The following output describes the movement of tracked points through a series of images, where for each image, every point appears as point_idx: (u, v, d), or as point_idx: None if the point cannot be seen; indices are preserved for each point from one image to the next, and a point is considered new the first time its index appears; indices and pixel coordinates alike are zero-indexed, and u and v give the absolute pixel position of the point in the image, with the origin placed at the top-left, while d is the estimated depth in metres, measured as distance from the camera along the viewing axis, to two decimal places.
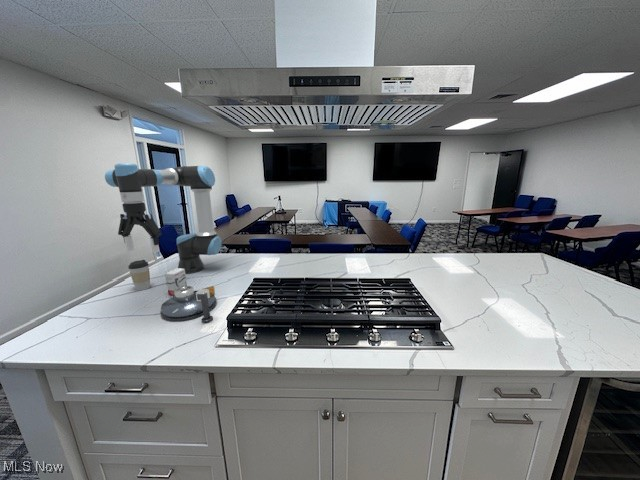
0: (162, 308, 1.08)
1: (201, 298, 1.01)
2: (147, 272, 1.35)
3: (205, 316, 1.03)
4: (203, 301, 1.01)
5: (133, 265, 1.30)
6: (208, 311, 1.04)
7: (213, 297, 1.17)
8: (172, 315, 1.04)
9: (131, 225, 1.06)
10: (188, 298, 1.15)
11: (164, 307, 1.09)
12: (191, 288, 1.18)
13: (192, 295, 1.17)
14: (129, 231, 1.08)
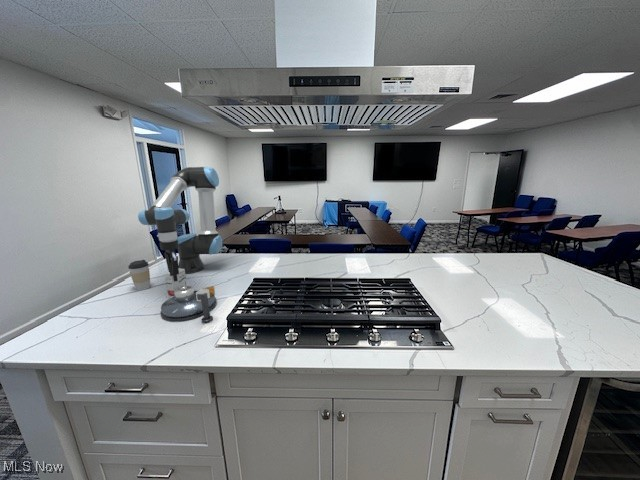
0: (162, 308, 1.08)
1: (201, 298, 1.01)
2: (147, 272, 1.35)
3: (205, 316, 1.03)
4: (203, 301, 1.01)
5: (133, 265, 1.30)
6: (208, 311, 1.04)
7: (213, 297, 1.17)
8: (172, 315, 1.04)
9: None
10: (188, 298, 1.15)
11: (164, 307, 1.09)
12: (191, 288, 1.18)
13: (192, 295, 1.17)
14: None
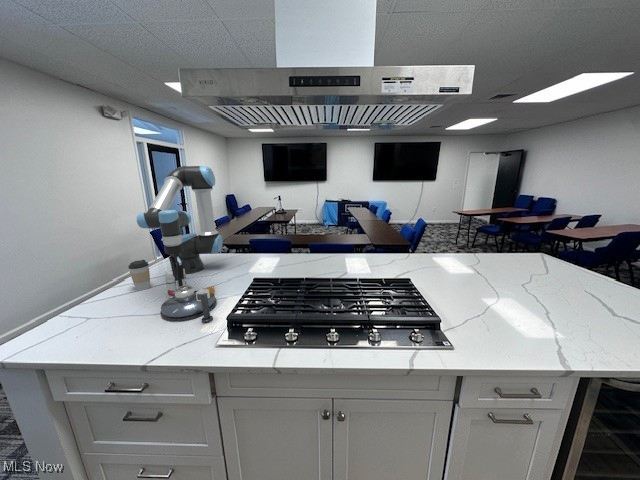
0: (162, 308, 1.08)
1: (201, 298, 1.01)
2: (147, 272, 1.35)
3: (205, 316, 1.03)
4: (203, 301, 1.01)
5: (133, 265, 1.30)
6: (208, 311, 1.04)
7: (213, 297, 1.17)
8: (172, 315, 1.04)
9: None
10: (188, 298, 1.15)
11: (164, 307, 1.09)
12: (191, 288, 1.18)
13: (192, 295, 1.16)
14: None
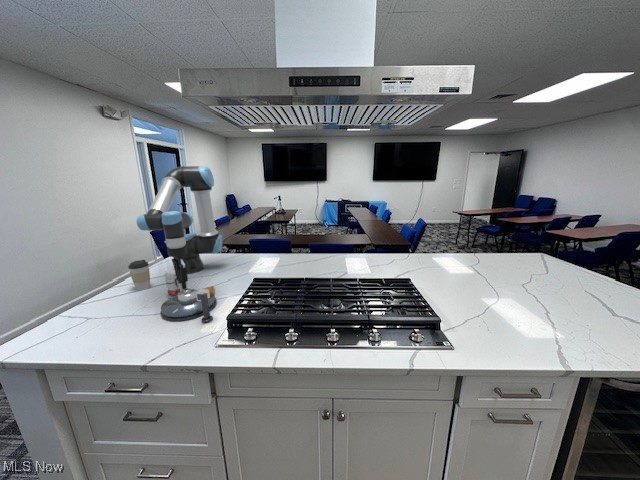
0: (162, 308, 1.08)
1: (201, 298, 1.01)
2: (147, 272, 1.35)
3: (205, 316, 1.03)
4: (203, 301, 1.01)
5: (133, 265, 1.30)
6: (208, 311, 1.04)
7: (213, 297, 1.17)
8: (172, 315, 1.04)
9: None
10: (192, 301, 1.12)
11: (164, 307, 1.09)
12: (195, 291, 1.15)
13: (196, 298, 1.13)
14: None
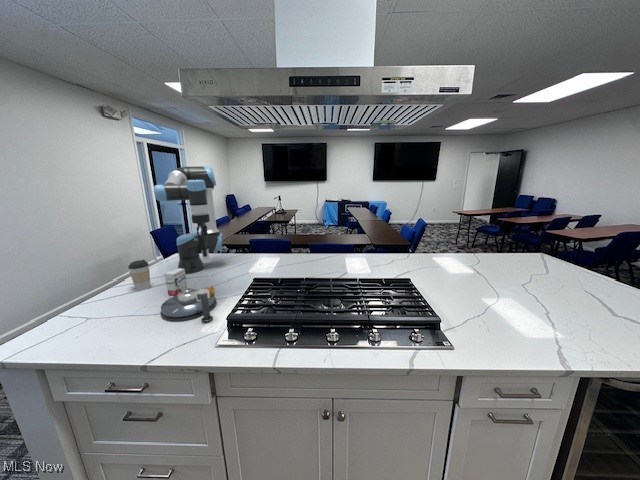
0: (162, 308, 1.08)
1: (201, 298, 1.01)
2: (147, 272, 1.35)
3: (205, 316, 1.03)
4: (203, 301, 1.01)
5: (133, 265, 1.30)
6: (208, 311, 1.04)
7: (213, 297, 1.17)
8: (172, 315, 1.04)
9: None
10: (192, 301, 1.12)
11: (164, 307, 1.09)
12: (195, 291, 1.15)
13: (196, 298, 1.13)
14: (205, 242, 1.19)
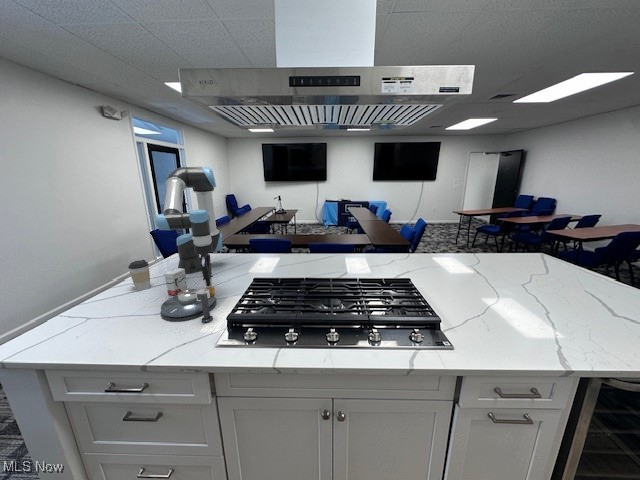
0: (162, 307, 1.09)
1: (201, 298, 1.01)
2: (147, 272, 1.35)
3: (205, 316, 1.03)
4: (203, 301, 1.01)
5: (133, 265, 1.30)
6: (208, 311, 1.04)
7: (213, 298, 1.16)
8: (170, 315, 1.04)
9: None
10: (191, 302, 1.11)
11: (164, 306, 1.10)
12: (195, 291, 1.14)
13: (195, 299, 1.13)
14: (208, 272, 1.18)
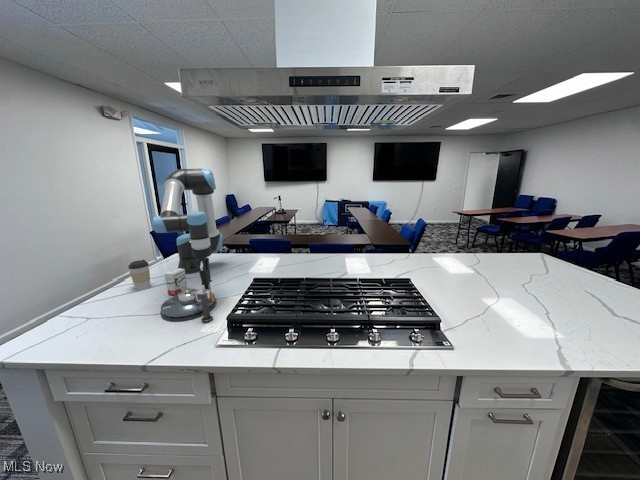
0: (167, 300, 1.15)
1: (201, 298, 1.01)
2: (147, 272, 1.35)
3: (205, 316, 1.03)
4: (203, 301, 1.01)
5: (133, 265, 1.30)
6: (208, 311, 1.04)
7: None
8: (161, 311, 1.07)
9: None
10: (185, 303, 1.10)
11: (169, 300, 1.15)
12: (193, 293, 1.13)
13: (191, 301, 1.11)
14: (207, 276, 1.13)
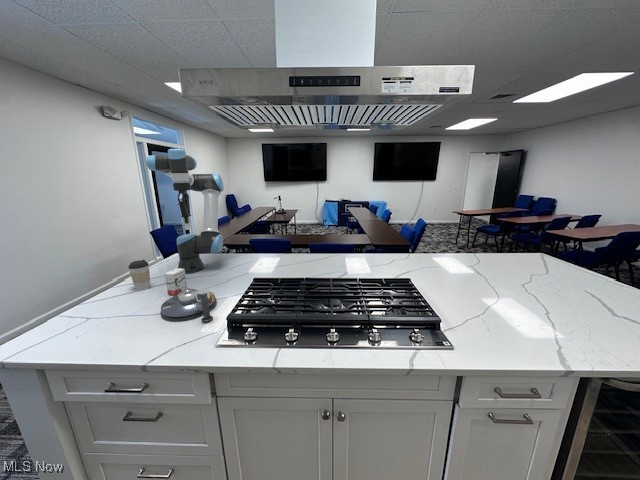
0: (167, 300, 1.15)
1: (201, 298, 1.01)
2: (147, 272, 1.35)
3: (205, 316, 1.03)
4: (203, 301, 1.01)
5: (133, 265, 1.30)
6: (208, 311, 1.04)
7: None
8: (161, 311, 1.07)
9: None
10: (185, 303, 1.10)
11: (169, 300, 1.15)
12: (193, 293, 1.13)
13: (191, 301, 1.11)
14: None
